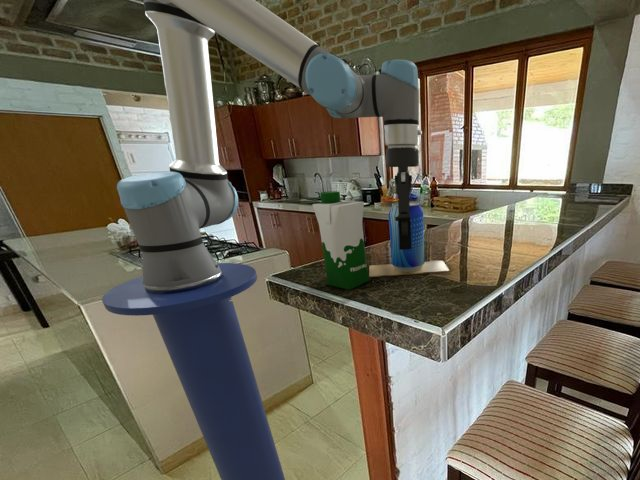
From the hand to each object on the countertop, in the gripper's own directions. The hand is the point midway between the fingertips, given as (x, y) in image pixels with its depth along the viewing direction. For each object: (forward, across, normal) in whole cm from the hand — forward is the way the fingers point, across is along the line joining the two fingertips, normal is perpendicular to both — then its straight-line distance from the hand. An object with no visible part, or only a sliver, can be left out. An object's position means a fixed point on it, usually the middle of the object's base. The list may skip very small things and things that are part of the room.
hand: (405, 242), depth 84 cm
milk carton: (+7, -9, +14) cm, 18 cm away
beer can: (+7, 0, 0) cm, 7 cm away
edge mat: (+7, 0, 0) cm, 7 cm away
